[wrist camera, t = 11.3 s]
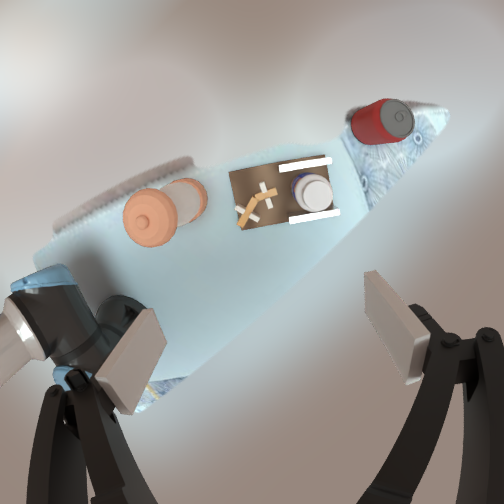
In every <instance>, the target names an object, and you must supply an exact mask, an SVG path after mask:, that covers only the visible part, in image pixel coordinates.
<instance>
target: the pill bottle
mask: <svg viewBox="0 0 504 504" xmlns="http://www.w3.org/2000/svg"><path fill="white" fill-rule="evenodd" d="M291 193H292V196H293V198H294V199H295V200H296V201H297V203H298V204H299V205H300V206H301V207H302V208H303V209H305V210H307V211H310V212H319V211H322V210H324V209H326V208H327V207H328V206H329V205H330V204H331V202H332V199H333V191H332V187H331V184H330V183H329V181H328V180H327V179H326V178H324V177H323V176H320V175H318V174H314V173H310V172H304V173H300V174H298V175H297V176H296V177H295V178H294V179H293V181H292V183H291Z"/></svg>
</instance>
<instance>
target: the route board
mask: <svg viewBox="0 0 504 504" xmlns="http://www.w3.org/2000/svg"><path fill="white" fill-rule="evenodd" d="M320 158H325V155H319V156H313V157H306V158H300V159H294V160H288V161H282V162H277V163H271V164H266V165H261V166H256V167H251V168H246V169H241V170H237V171H232V172H229V177H230V181H231V186H232V190H233V195H234V199H235V203H236V205H237V204H238V203H239V204H241V205H243V206H244V207H247V205H248V203H249V201H250V200H251V198H252V196H254V197H255V194H256V193H259V192H262V190H261V188H260V185H259V183H260V182H263V181H264V182H265V185H266V188H267V190H268V189H271V188H274V187H275V188H276V191H277V193H278V195H275V196H272V197H270V199H271V201H272V204H273V208H270V209H268V206H267V204H266V201H265V199H263V200H260V201H258V203H257V204H256V206H255V208H254V210H253V212H255V213H257V214H259V215H260V219H259V221H258V223H257V222H256V221H254V220H252V219H250V218H248V220H247V222H246V224H245V225H244V227H243V228H242V227H241V230H247V229H252V228H257V227H262V226H267V225H273V224H278V223H283V222H289V220H288V216H287V213H289V212H294V211H300V210H305V209H303V208H302V207H301V206H300V205H299V204H298V203H297V201H296V200H295V199H294V198H293V196H292V193H291V183H292V181H293V179H294V178H295V177H296V176H297V175H298V174H300V173H304V172H310V173H314V174H318V175H320V176H323V177H324V178H326V179H327V180H328V181H329V175H328V169H327V165H320V166H314V167H308V168H301V169H295V170H290V171H284V172H279V170H278V165H283V164H289V163H294V162H300V161H307V160H313V159H320ZM329 183H330V181H329ZM330 205H333V200H332V202H331V204H330ZM237 212H238V211H237ZM241 215H242V214H241V213H239V212H238V217H239V219H240V217H241Z"/></svg>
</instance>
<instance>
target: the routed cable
mask: <svg viewBox="0 0 504 504" xmlns="http://www.w3.org/2000/svg"><path fill="white" fill-rule="evenodd" d="M259 185H260V188H261V190H262V192H259V193H256V194H255V197H254V196H252V198H251V200H250V201H249V203H248V205H247V207H244V206H243V205H241V204H239V203H238V204H237V205H236V207H235V209H234V210H236V211H238V212H239V213H241V214H242V215H241V217H240V219H239V221H238V222H237V225H239V226H240V227H242V228H243V227H244V225H245V224H246V222H247V220H248V218H250V219H252V220H254V221H256V222H257V223H258V221H259V219H260V215H259V214H257V213H255V212H253V210H254V208H255V206H256V204H257V203H258V201H260V200H263V199H265V201H266V204H267V206H268V209H270V208H273V204H272V201H271V199H270V197H272V196H275V195H278V193H277V191H276V188H275V187H274V188H271V189H268V190H267V188H266V185H265V182H264V181H263V182H260V183H259Z"/></svg>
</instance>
